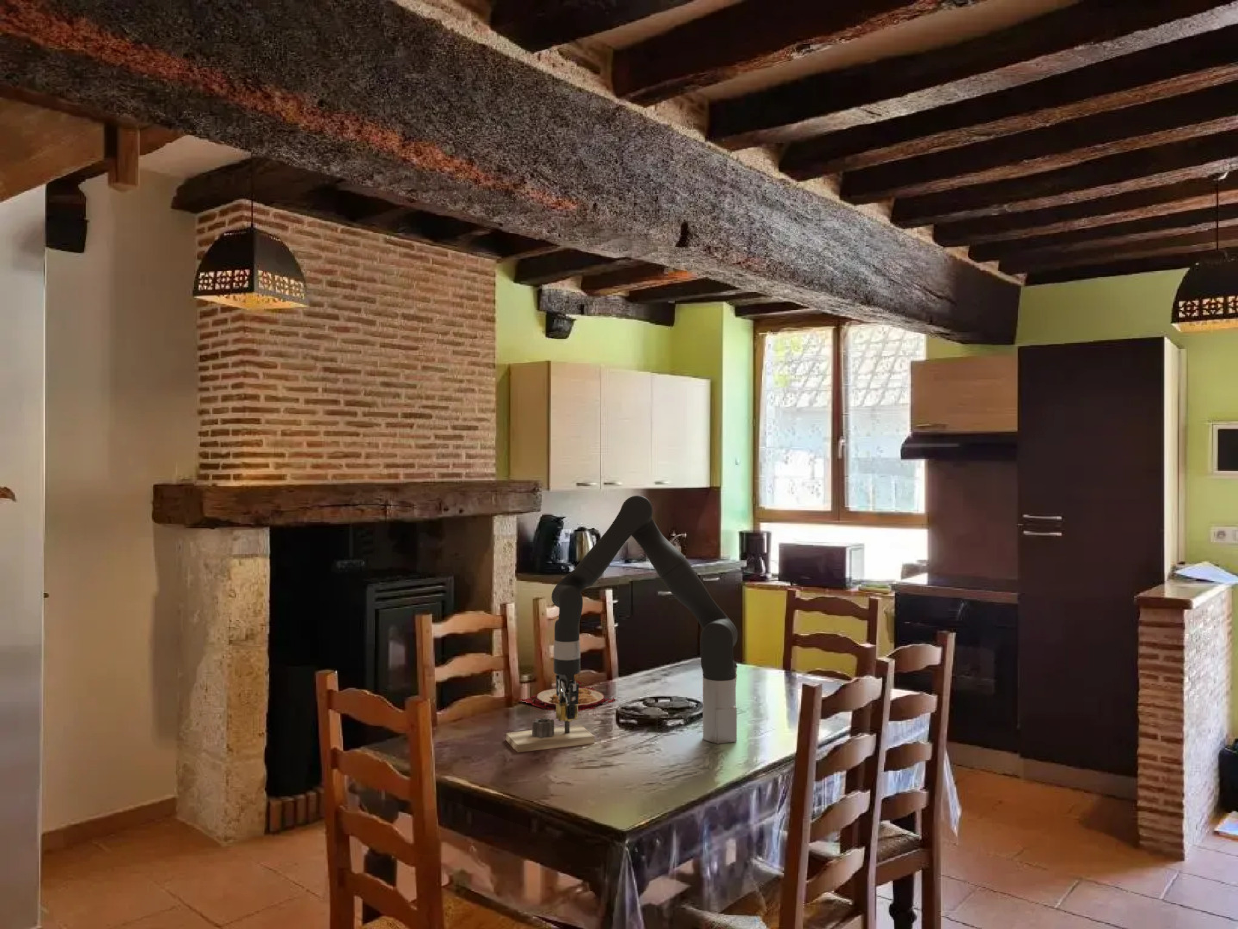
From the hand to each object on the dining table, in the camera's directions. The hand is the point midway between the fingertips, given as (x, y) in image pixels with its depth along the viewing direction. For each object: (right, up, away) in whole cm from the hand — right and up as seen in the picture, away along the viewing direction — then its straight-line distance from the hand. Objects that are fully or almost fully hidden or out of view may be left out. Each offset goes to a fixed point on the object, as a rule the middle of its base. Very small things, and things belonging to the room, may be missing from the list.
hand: (567, 715), depth 262 cm
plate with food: (-1, -8, +42) cm, 43 cm away
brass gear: (0, -1, 0) cm, 1 cm away
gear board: (-5, -7, -2) cm, 8 cm away
